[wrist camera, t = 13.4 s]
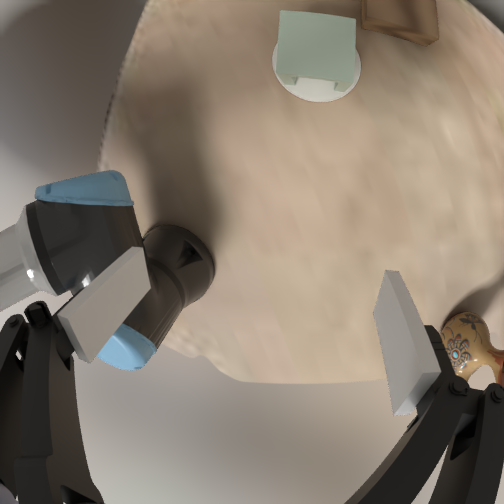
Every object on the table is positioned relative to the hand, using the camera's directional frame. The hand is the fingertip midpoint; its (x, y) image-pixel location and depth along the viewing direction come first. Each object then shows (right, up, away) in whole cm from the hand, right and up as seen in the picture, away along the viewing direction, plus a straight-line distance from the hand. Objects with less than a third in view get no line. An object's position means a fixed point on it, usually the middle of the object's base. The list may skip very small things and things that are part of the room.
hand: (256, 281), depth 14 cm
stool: (+8, +27, +15) cm, 32 cm away
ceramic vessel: (+40, -13, +28) cm, 51 cm away
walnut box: (+20, +36, +8) cm, 42 cm away
